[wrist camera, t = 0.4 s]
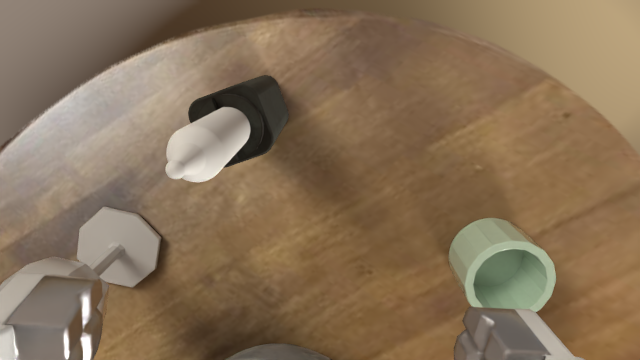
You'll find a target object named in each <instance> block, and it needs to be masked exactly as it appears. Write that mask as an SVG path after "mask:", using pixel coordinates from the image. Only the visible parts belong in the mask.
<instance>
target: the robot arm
mask: <svg viewBox="0 0 640 360" xmlns="http://www.w3.org/2000/svg"><path fill="white" fill-rule="evenodd" d="M102 297H103V293H102V282H101V281H100V279H94V278H84V277H73V276H62V275H51V274H49V275H47V274H40V273H25V272H22V273H19V274H16V275H15V276H14V277H13V278H12V279H11V280H10V281H9V282H8V283H7V285H6V286H5V287H4V288H3V289H2V290H1V291H0V360H93V359H94V356H95V354H96V352H97V350H98V346H99V343H100V339H101V334H102V326H103V314H102V313H101V312H100V311H99V310H98V308H97V306H98V304H99V302H100V301H101V299H102ZM463 323H464V326H465V328H466V329H465V330H464V331H463V332H462V333H461V334H460V335H458V336H457V339H456V343H455V346H454V360H584V359H583V358H581V357H574V356H573V355H572V353H571V352H570V351H569V350H568V349H567V348H566V347H565V345H564V344H563V343H562V342H561V341H560V340H559V339H558V337H557V336H556V335H555V334H554V333H553V332H552V330H551V329H550V328H549V327H548V326H547V325H546V324H545V322H544V321H543V320H542V319H541V318H540V317H539V316H538V314H537V313H536V312H534V311H532V310H530V309H512V308H510V309H503V308H485V307H469V308H468V309H467V311H466V312H465V315H464V318H463Z"/></svg>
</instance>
